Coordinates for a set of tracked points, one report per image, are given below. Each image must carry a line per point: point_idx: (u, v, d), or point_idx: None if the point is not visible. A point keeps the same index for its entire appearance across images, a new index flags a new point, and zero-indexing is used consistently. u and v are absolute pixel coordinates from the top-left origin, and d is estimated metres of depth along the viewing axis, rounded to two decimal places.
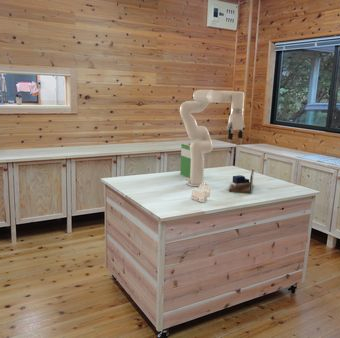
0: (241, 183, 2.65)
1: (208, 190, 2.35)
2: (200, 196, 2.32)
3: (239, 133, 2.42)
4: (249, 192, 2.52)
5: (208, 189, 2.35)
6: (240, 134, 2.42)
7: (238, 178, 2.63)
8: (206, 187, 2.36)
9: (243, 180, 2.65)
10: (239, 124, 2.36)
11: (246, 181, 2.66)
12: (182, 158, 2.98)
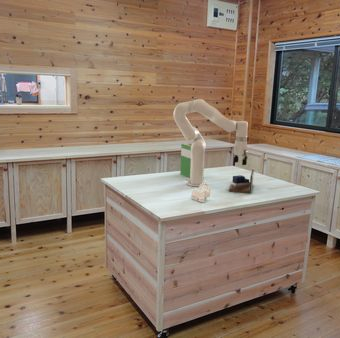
0: (241, 183, 2.65)
1: (208, 190, 2.35)
2: (200, 196, 2.32)
3: (236, 158, 2.66)
4: (249, 192, 2.52)
5: (208, 189, 2.35)
6: (237, 158, 2.66)
7: (238, 178, 2.63)
8: (206, 187, 2.36)
9: (243, 180, 2.65)
10: None
11: (246, 181, 2.66)
12: (182, 158, 2.98)
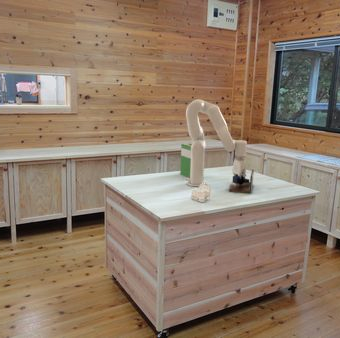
0: None
1: (208, 190, 2.35)
2: (200, 196, 2.32)
3: None
4: (249, 192, 2.52)
5: (208, 189, 2.35)
6: None
7: (238, 178, 2.63)
8: (206, 187, 2.36)
9: (243, 180, 2.65)
10: None
11: (246, 181, 2.66)
12: (182, 158, 2.98)
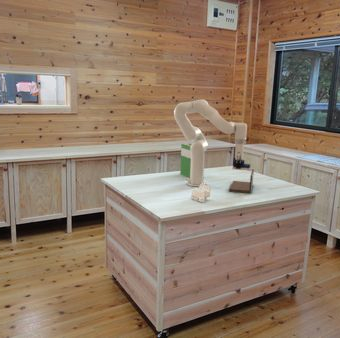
0: None
1: (208, 190, 2.35)
2: (200, 196, 2.32)
3: None
4: (249, 192, 2.52)
5: (208, 189, 2.35)
6: None
7: (235, 161, 2.56)
8: (206, 187, 2.36)
9: (242, 165, 2.55)
10: None
11: (246, 166, 2.55)
12: (182, 158, 2.98)
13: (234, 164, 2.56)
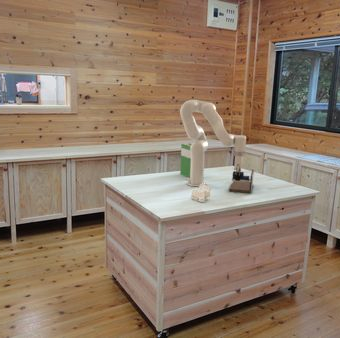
0: None
1: (208, 190, 2.35)
2: (200, 196, 2.32)
3: None
4: (249, 192, 2.52)
5: (208, 189, 2.35)
6: None
7: (235, 173, 2.57)
8: (206, 187, 2.36)
9: (241, 177, 2.57)
10: None
11: (245, 178, 2.57)
12: (182, 158, 2.98)
13: (233, 176, 2.58)
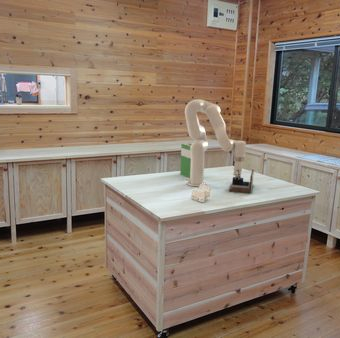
0: (238, 185, 2.58)
1: (208, 190, 2.35)
2: (200, 196, 2.32)
3: None
4: (249, 192, 2.52)
5: (208, 189, 2.35)
6: (238, 178, 2.64)
7: (234, 179, 2.58)
8: (206, 187, 2.36)
9: (241, 183, 2.58)
10: (241, 170, 2.59)
11: (244, 184, 2.57)
12: (182, 158, 2.98)
13: (233, 182, 2.59)
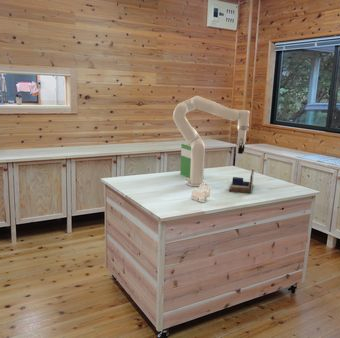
0: (238, 185, 2.58)
1: (208, 190, 2.35)
2: (200, 196, 2.32)
3: None
4: (249, 192, 2.52)
5: (208, 189, 2.35)
6: None
7: (234, 179, 2.58)
8: (206, 187, 2.36)
9: (241, 183, 2.58)
10: (245, 139, 2.63)
11: (244, 184, 2.57)
12: (182, 158, 2.98)
13: (233, 182, 2.59)
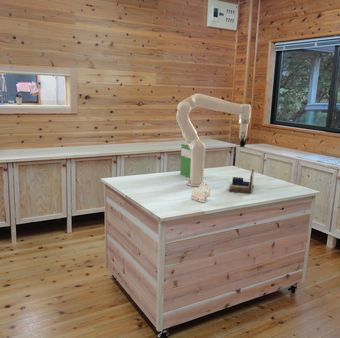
0: (238, 185, 2.58)
1: (208, 190, 2.35)
2: (200, 196, 2.32)
3: None
4: (249, 192, 2.52)
5: (208, 189, 2.35)
6: None
7: (234, 179, 2.58)
8: (206, 187, 2.36)
9: (241, 183, 2.58)
10: None
11: (244, 184, 2.57)
12: (182, 158, 2.98)
13: (233, 182, 2.59)
